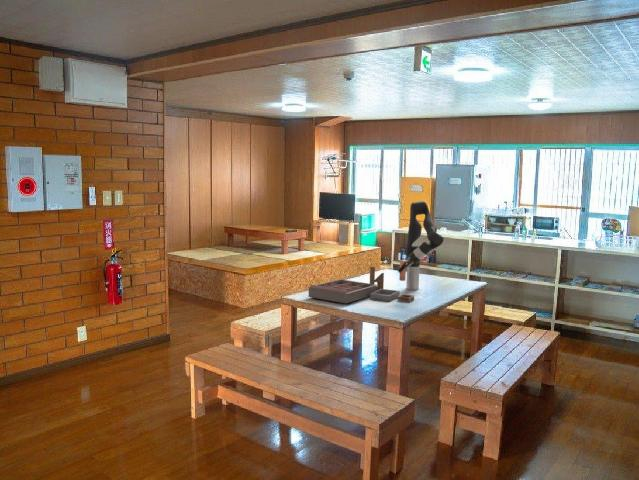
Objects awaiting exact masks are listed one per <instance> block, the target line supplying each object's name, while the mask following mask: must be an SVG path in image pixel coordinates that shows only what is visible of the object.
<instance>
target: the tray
mask: <svg viewBox="0 0 639 480" xmlns="http://www.w3.org/2000/svg"><path fill="white" fill-rule="evenodd" d="M400 295H401V291H400V290H394V289H387V288H386V289H385V288H383V289H379V290H377V291H375V292H373V293H371V294H370V296H369V297H370V299H369V300H372V301H379V302H385V303H386V302H387V303H390V302H392V301H394V300H396V299H398V296H400Z"/></svg>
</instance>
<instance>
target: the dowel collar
mask: <svg viewBox="0 0 639 480" xmlns="http://www.w3.org/2000/svg"><path fill="white" fill-rule="evenodd" d="M414 300H415V295H412V294H405V293H404V294H402V293H401V294H400V296H398V298H397V302H404V303H411V302H413V301H414Z"/></svg>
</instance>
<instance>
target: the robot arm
mask: <svg viewBox="0 0 639 480" xmlns="http://www.w3.org/2000/svg"><path fill="white" fill-rule="evenodd" d="M409 211H410V212H409V225H408V232H407V233H408V234H407V240H406V241H407V242H406V246H405V256H406V257H408V258H409V259H406V260H405V261H406V262H405V263H404V264H403V265H402V266H401V268H400V267H399V269H398V270H397V272H398V273H399V274H400V272H402V271H403V270H404V269H405V268H406V285H405V286H406V287H405V288H406V289H407V290H412V291H413V290H419V288H420V287H419V285H420V263H421V262H420V261H421V260H422V259H424V258H425V256H426V255H428V253H430V252H431V251H432V250H434V249H435V250H436V249H437V248H438V247H440V246H442V245H443V242H444V240H445V239H444V237H443V236H442V235H441V234H439V233H437V232H438V230H437V229H438V228H437V227H436V225H435V223H434V221H433V218H432V216H431V213H430V210H429V207H428V204H427V202H426V201H425V200H418V201H413V202H412V203H410V209H409ZM419 215H424V219H423V224H421V223H420V221H419V220H418V219H417V216H419ZM422 225H423V226H422ZM422 227H423V228H424V231H425V232H426V237H427V239H428V241H424V242H422V243H421V244H414V243H415V242H416V241H417V240H419V238H420V237H421V235H422V230H423V228H422ZM403 266H404V267H403Z"/></svg>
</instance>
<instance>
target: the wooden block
mask: <svg viewBox="0 0 639 480" xmlns="http://www.w3.org/2000/svg"><path fill="white" fill-rule="evenodd" d="M375 274H376V266H372V265H370V266H369V284H376V285H377V286H376V291H377V290H379V289H384V286H385V285H384V284H385V283H384V279H385V272H382V273H380V274H379V275H378V276H377V277H376V278H375V276H376V275H375Z"/></svg>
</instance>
